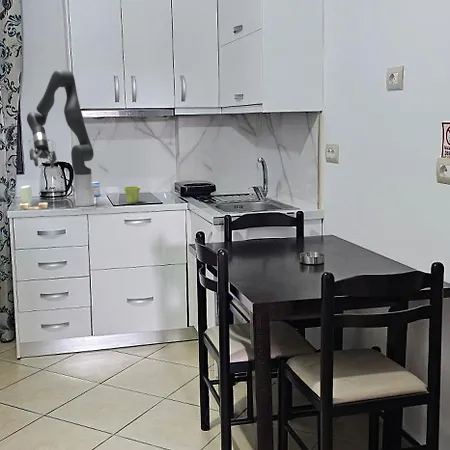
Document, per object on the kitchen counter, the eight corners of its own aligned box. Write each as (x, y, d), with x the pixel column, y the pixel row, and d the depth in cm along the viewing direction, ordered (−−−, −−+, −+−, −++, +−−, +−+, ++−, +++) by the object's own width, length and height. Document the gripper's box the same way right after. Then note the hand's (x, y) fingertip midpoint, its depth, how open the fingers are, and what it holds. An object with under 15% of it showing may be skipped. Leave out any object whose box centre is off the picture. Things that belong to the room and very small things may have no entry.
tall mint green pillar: (32, 205, 371) (31, 185, 370) (28, 207, 364) (26, 187, 362) (25, 205, 371) (24, 185, 370) (21, 207, 364) (20, 187, 362)
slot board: (47, 206, 365) (47, 202, 364) (46, 208, 358) (46, 204, 358) (21, 207, 362) (20, 203, 362) (19, 209, 356) (19, 205, 355)
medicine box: (91, 197, 402) (90, 183, 401) (86, 197, 405) (85, 182, 403) (100, 196, 408) (100, 182, 407) (95, 195, 411) (95, 181, 409)
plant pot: (131, 204, 371) (131, 188, 370) (120, 202, 377) (120, 187, 376) (144, 202, 378) (144, 187, 377) (133, 200, 384) (133, 185, 383)
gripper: (30, 137, 367) (34, 161, 360) (55, 140, 375) (59, 163, 368) (26, 145, 372) (29, 169, 365) (50, 147, 380) (55, 171, 373)
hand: (44, 166), depth 366 cm, fingers open, 8 cm apart
